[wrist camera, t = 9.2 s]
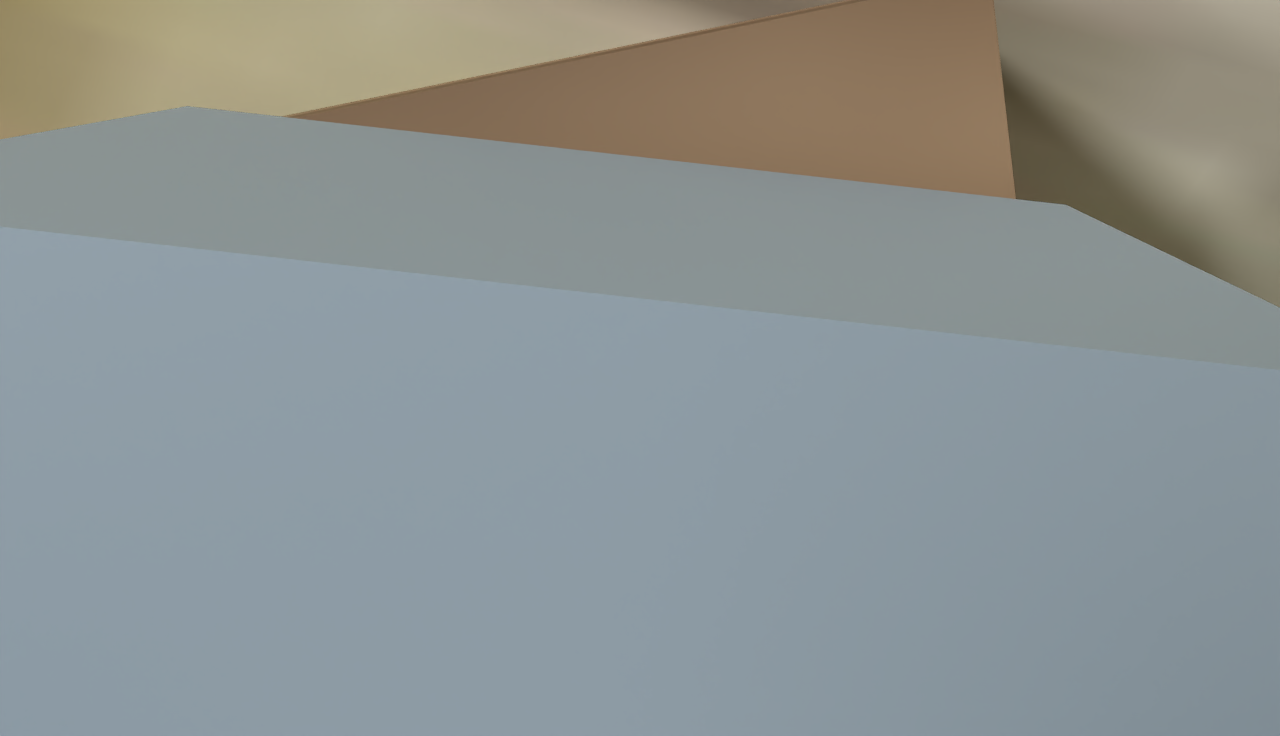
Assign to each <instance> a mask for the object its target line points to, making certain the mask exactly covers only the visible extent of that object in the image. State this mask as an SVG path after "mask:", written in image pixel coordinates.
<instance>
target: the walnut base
mask: <svg viewBox="0 0 1280 736" xmlns="http://www.w3.org/2000/svg"><path fill="white" fill-rule="evenodd" d="M282 117H288V118H297V119H306V120H315V121H324V122H333V123H342V124H350V125H359V126H368V127H377V128H386V129H395V130H404V131H413V132H422V133H431V134H440V135H449V136H457V137H466V138H475V139H484V140H493V141H502V142H511V143H520V144H529V145H538V146H547V147H556V148H564V149H573V150H582V151H591V152H600V153H609V154H618V155H627V156H636V157H645V158H654V159H663V160H671V161H680V162H689V163H698V164H707V165H716V166H725V167H734V168H743V169H752V170H761V171H770V172H779V173H787V174H796V175H805V176H814V177H823V178H832V179H841V180H850V181H859V182H868V183H877V184H886V185H894V186H903V187H912V188H921V189H930V190H939V191H948V192H957V193H966V194H975V195H984V196H993V197H1001V198H1010V199H1016V195H1015V187H1014V178H1013V169H1012V160H1011V151H1010V142H1009V133H1008V125H1007V116H1006V107H1005V98H1004V89H1003V80H1002V71H1001V63H1000V54H999V45H998V36H997V27H996V18H995V9H994V1H993V0H846V1H841V2H836V3H831V4H827V5H822V6H817V7H812V8H807V9H802V10H797V11H792V12H788V13H783V14H778V15H773V16H768V17H763V18H758V19H754V20H749V21H744V22H739V23H734V24H729V25H724V26H720V27H715V28H710V29H705V30H700V31H695V32H690V33H685V34H681V35H676V36H671V37H666V38H661V39H656V40H651V41H647V42H642V43H637V44H632V45H627V46H622V47H617V48H613V49H608V50H603V51H598V52H593V53H588V54H583V55H578V56H574V57H569V58H564V59H559V60H554V61H549V62H544V63H540V64H535V65H530V66H525V67H520V68H515V69H510V70H506V71H501V72H496V73H491V74H486V75H481V76H476V77H471V78H467V79H462V80H457V81H452V82H447V83H442V84H437V85H433V86H428V87H423V88H418V89H413V90H408V91H403V92H399V93H394V94H389V95H384V96H379V97H374V98H369V99H364V100H360V101H355V102H350V103H345V104H340V105H335V106H330V107H326V108H321V109H316V110H311V111H306V112H301V113H296V114H292V115H287V116H282Z"/></svg>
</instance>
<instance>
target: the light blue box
mask: <svg viewBox="0 0 1280 736" xmlns="http://www.w3.org/2000/svg"><path fill="white" fill-rule="evenodd" d="M0 736H1280V308H1279V307H1277V306H1275V305H1273V304H1271V303H1269V302H1267V301H1265V300H1263V299H1261V298H1259V297H1257V296H1255V295H1252V294H1250V293H1248V292H1246V291H1244V290H1242V289H1240V288H1238V287H1236V286H1234V285H1232V284H1230V283H1228V282H1225V281H1223V280H1221V279H1219V278H1217V277H1215V276H1213V275H1211V274H1209V273H1207V272H1205V271H1203V270H1201V269H1198V268H1196V267H1194V266H1192V265H1190V264H1188V263H1186V262H1184V261H1182V260H1180V259H1178V258H1176V257H1174V256H1171V255H1169V254H1167V253H1165V252H1163V251H1161V250H1159V249H1157V248H1155V247H1153V246H1151V245H1149V244H1147V243H1144V242H1142V241H1140V240H1138V239H1136V238H1134V237H1132V236H1130V235H1128V234H1126V233H1124V232H1122V231H1120V230H1117V229H1115V228H1113V227H1111V226H1109V225H1107V224H1105V223H1103V222H1101V221H1099V220H1097V219H1095V218H1093V217H1090V216H1088V215H1086V214H1084V213H1082V212H1080V211H1078V210H1076V209H1074V208H1072V207H1070V206H1068V205H1064V204H1055V203H1046V202H1037V201H1028V200H1019V199H1010V198H1001V197H993V196H984V195H975V194H966V193H957V192H948V191H939V190H930V189H921V188H912V187H903V186H894V185H886V184H877V183H868V182H859V181H850V180H841V179H832V178H823V177H814V176H805V175H796V174H787V173H779V172H770V171H761V170H752V169H743V168H734V167H725V166H716V165H707V164H698V163H689V162H680V161H671V160H663V159H654V158H645V157H636V156H627V155H618V154H609V153H600V152H591V151H582V150H573V149H564V148H556V147H547V146H538V145H529V144H520V143H511V142H502V141H493V140H484V139H475V138H466V137H457V136H449V135H440V134H431V133H422V132H413V131H404V130H395V129H386V128H377V127H368V126H359V125H350V124H342V123H333V122H324V121H315V120H306V119H297V118H288V117H279V116H270V115H261V114H252V113H243V112H234V111H226V110H217V109H208V108H199V107H190V106H186V107H180V108H175V109H169V110H164V111H158V112H152V113H147V114H141V115H136V116H130V117H124V118H119V119H113V120H108V121H102V122H96V123H91V124H85V125H80V126H74V127H68V128H63V129H57V130H52V131H46V132H40V133H35V134H29V135H23V136H18V137H12V138H7V139H1V140H0Z"/></svg>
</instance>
